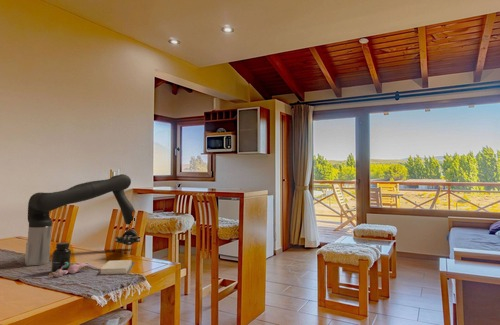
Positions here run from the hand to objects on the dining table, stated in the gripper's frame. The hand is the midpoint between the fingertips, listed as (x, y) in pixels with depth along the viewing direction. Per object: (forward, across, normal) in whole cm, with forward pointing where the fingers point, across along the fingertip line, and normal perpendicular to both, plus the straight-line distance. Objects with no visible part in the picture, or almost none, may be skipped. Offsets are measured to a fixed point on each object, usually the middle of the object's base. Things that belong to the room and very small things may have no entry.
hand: (124, 242), depth 156 cm
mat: (+15, 0, +10) cm, 18 cm away
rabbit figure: (+21, -18, +10) cm, 29 cm away
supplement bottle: (+16, -23, +10) cm, 29 cm away
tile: (+10, 0, +8) cm, 13 cm away
